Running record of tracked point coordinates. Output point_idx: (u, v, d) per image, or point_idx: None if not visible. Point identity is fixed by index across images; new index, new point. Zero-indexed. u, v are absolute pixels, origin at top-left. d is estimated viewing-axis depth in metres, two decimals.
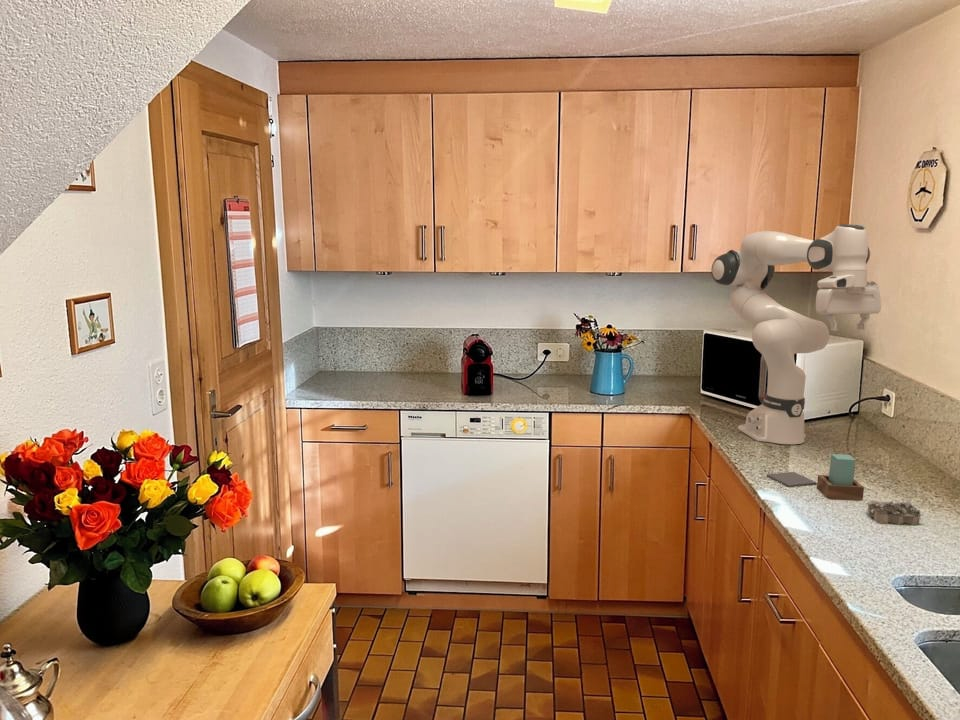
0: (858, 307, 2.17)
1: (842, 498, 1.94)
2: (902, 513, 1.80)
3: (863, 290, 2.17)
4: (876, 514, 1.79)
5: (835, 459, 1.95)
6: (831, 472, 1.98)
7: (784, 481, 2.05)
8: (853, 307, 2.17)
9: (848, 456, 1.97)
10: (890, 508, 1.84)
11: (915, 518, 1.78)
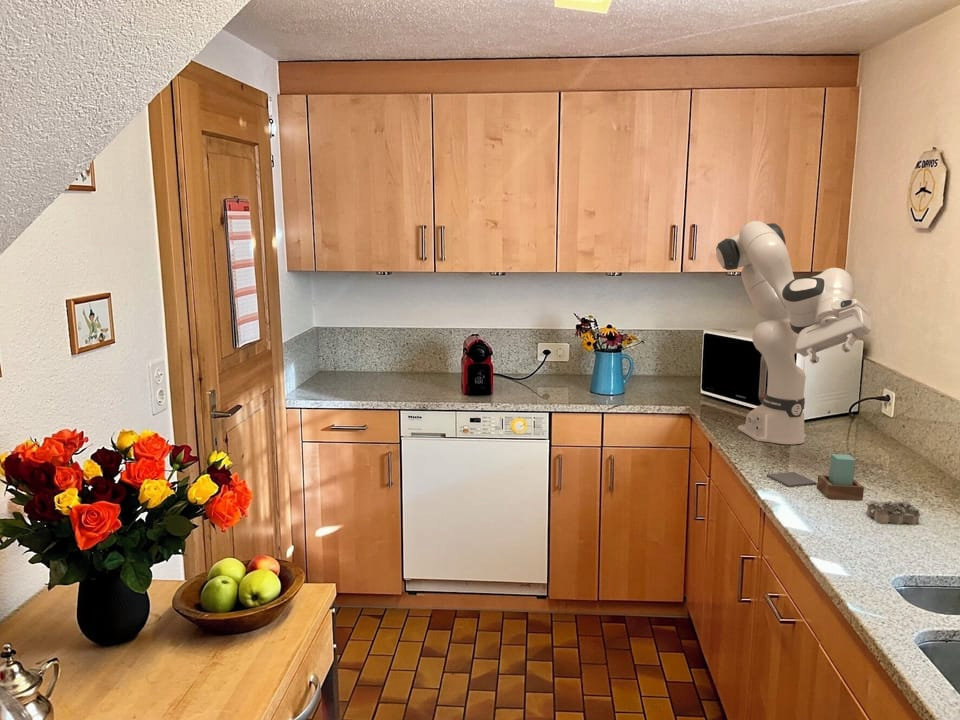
0: None
1: (842, 498, 1.94)
2: (901, 513, 1.80)
3: None
4: (876, 514, 1.79)
5: (835, 459, 1.95)
6: (831, 472, 1.98)
7: (784, 481, 2.05)
8: None
9: (848, 456, 1.97)
10: (889, 508, 1.84)
11: (915, 517, 1.78)
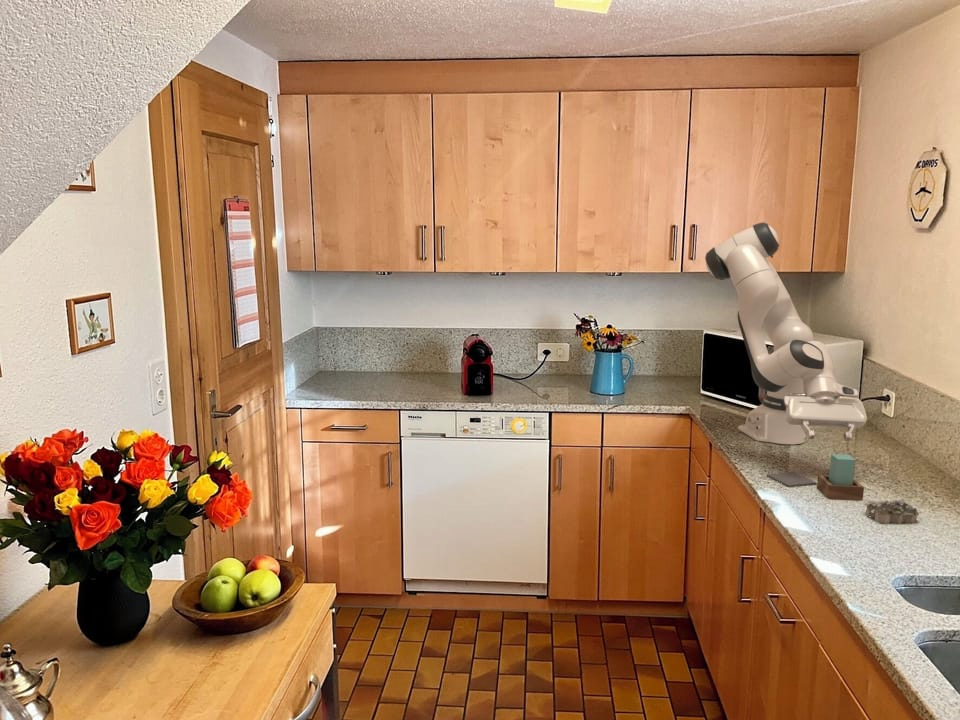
0: None
1: (842, 498, 1.94)
2: (900, 512, 1.81)
3: None
4: (877, 515, 1.79)
5: (835, 459, 1.95)
6: (831, 472, 1.98)
7: (784, 481, 2.05)
8: None
9: (848, 456, 1.97)
10: (886, 507, 1.85)
11: (914, 516, 1.79)
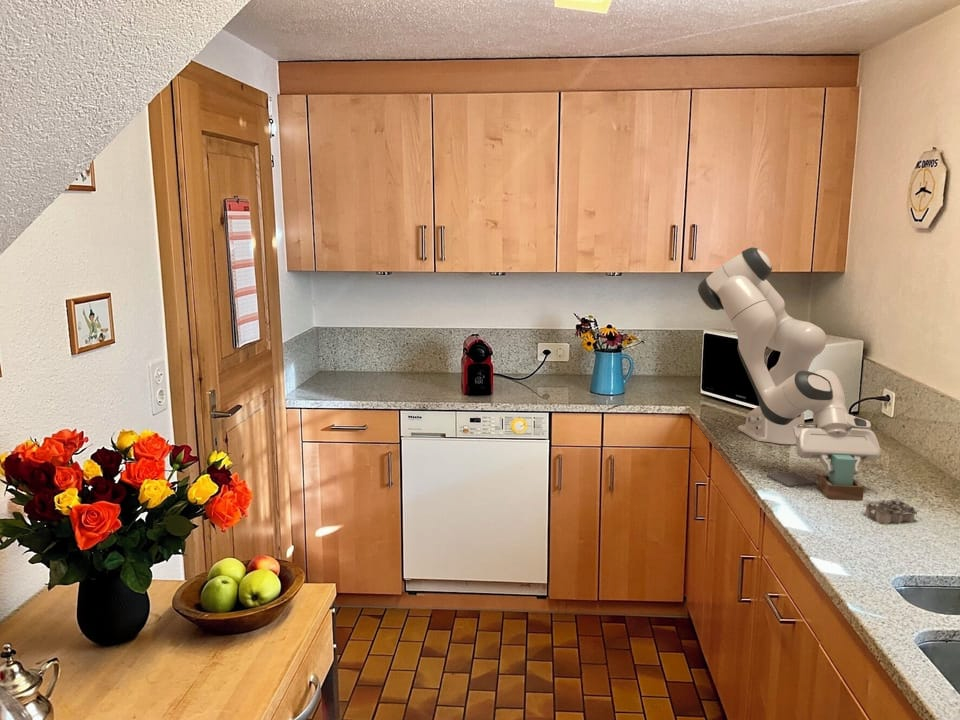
0: None
1: (842, 498, 1.94)
2: None
3: None
4: (878, 515, 1.79)
5: (835, 459, 1.95)
6: None
7: (784, 481, 2.05)
8: None
9: (848, 455, 1.97)
10: (883, 507, 1.85)
11: (912, 515, 1.80)
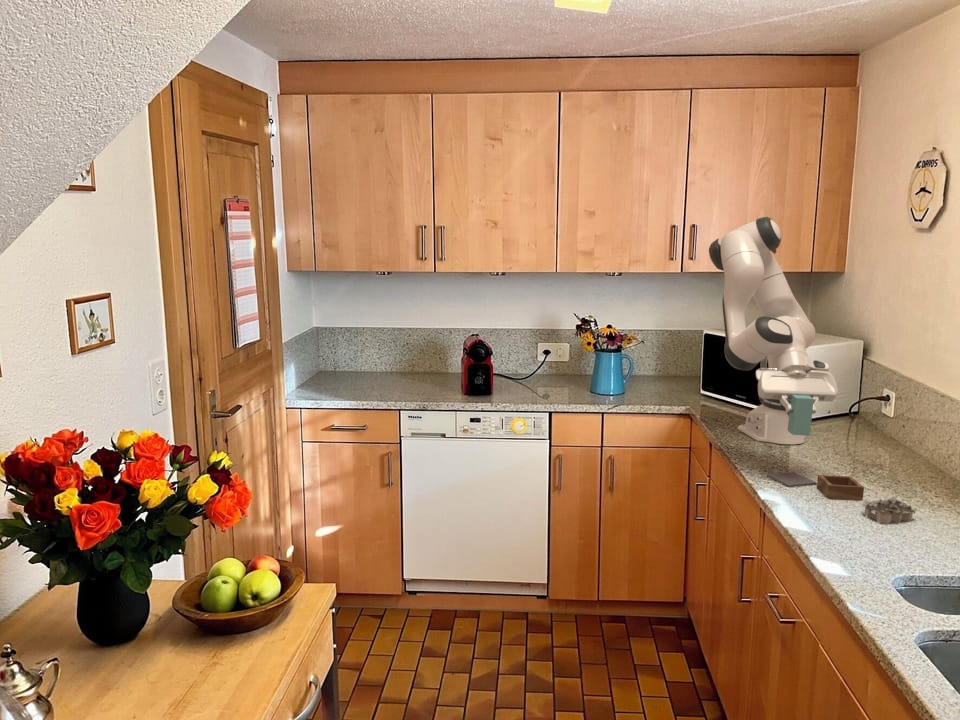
0: None
1: (842, 498, 1.94)
2: None
3: None
4: (879, 515, 1.79)
5: (794, 398, 2.02)
6: None
7: (784, 481, 2.05)
8: None
9: (807, 395, 2.04)
10: (880, 506, 1.85)
11: (911, 514, 1.80)
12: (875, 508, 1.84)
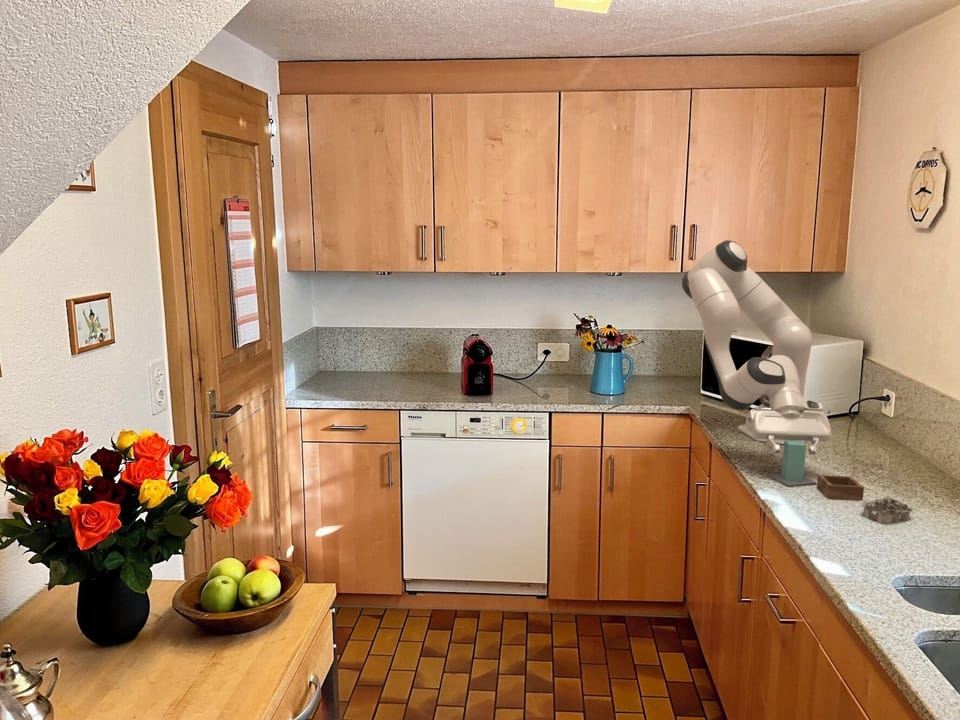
0: None
1: (842, 498, 1.94)
2: (895, 510, 1.82)
3: None
4: (881, 516, 1.79)
5: (787, 445, 2.05)
6: (784, 457, 2.07)
7: (784, 481, 2.05)
8: None
9: (800, 442, 2.06)
10: (877, 506, 1.85)
11: (909, 513, 1.81)
12: (873, 508, 1.84)
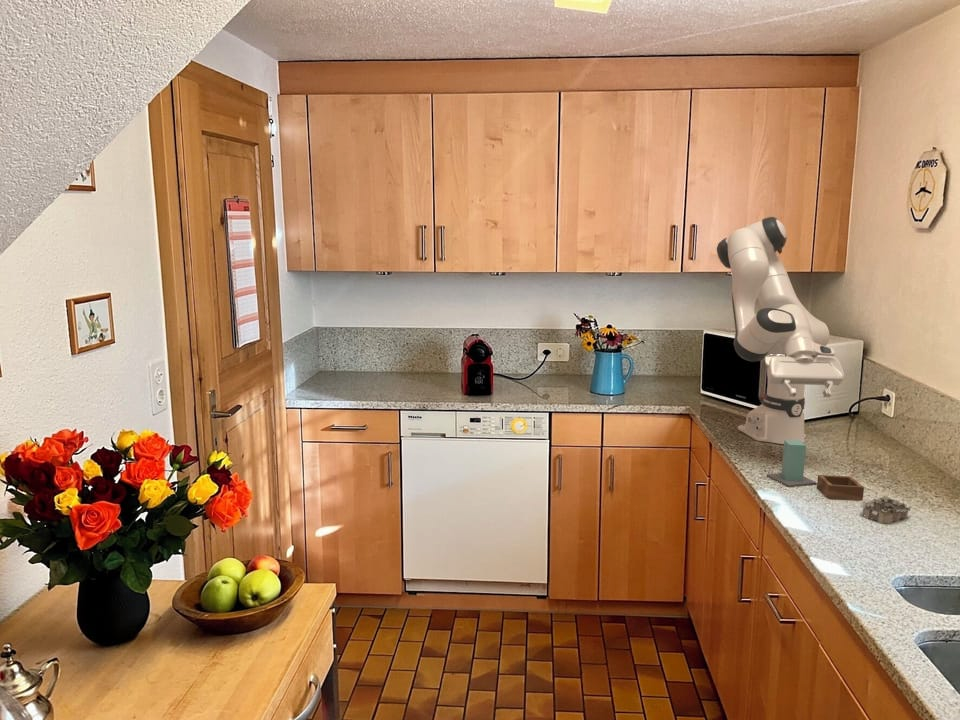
0: None
1: (842, 498, 1.94)
2: None
3: None
4: (882, 516, 1.78)
5: (787, 445, 2.05)
6: (784, 457, 2.07)
7: (784, 481, 2.05)
8: None
9: (800, 442, 2.06)
10: (875, 506, 1.85)
11: (907, 512, 1.82)
12: (872, 508, 1.84)
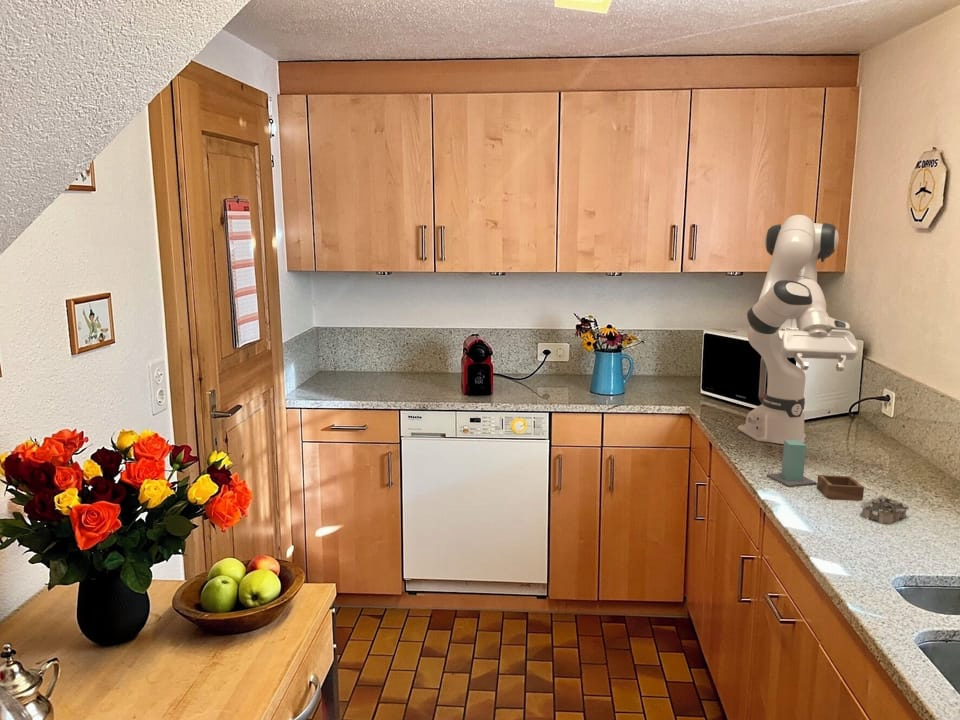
0: None
1: (842, 498, 1.94)
2: (892, 509, 1.83)
3: None
4: (882, 516, 1.78)
5: (787, 445, 2.05)
6: (784, 457, 2.07)
7: (784, 481, 2.05)
8: None
9: (800, 442, 2.06)
10: (874, 506, 1.86)
11: (905, 511, 1.82)
12: (871, 508, 1.84)
